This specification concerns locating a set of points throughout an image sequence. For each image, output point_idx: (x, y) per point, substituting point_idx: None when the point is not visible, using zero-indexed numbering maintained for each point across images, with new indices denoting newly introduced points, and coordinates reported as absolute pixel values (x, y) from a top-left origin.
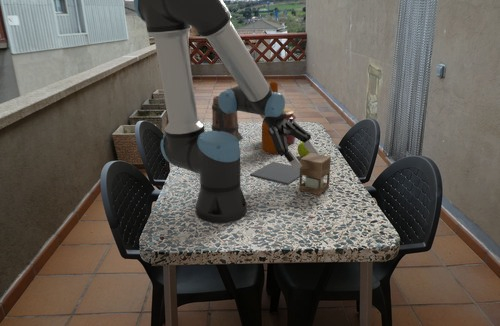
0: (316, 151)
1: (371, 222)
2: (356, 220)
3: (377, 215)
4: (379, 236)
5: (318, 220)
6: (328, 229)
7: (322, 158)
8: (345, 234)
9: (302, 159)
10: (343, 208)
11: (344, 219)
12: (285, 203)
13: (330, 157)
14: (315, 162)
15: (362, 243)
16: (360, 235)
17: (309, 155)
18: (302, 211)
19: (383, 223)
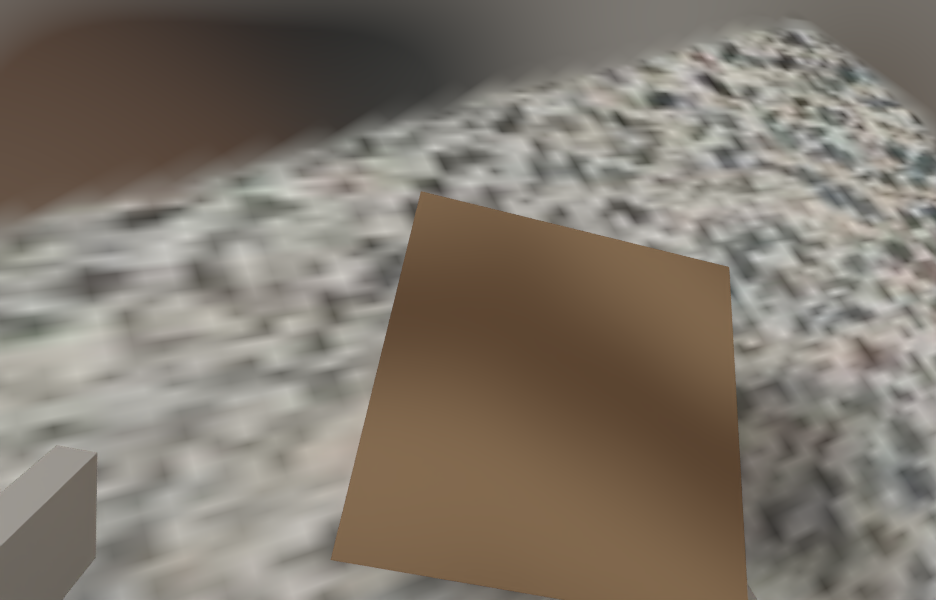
0: (39, 514)
1: (730, 93)
2: (752, 148)
3: (651, 70)
4: (816, 71)
5: (871, 310)
6: (908, 250)
7: (548, 284)
8: (892, 181)
9: (746, 579)
10: (670, 212)
11: (778, 196)
12: (827, 586)
13: (432, 199)
14: (727, 347)
15: (902, 122)
16: (857, 129)
17: (502, 525)
18: (845, 424)
19: (708, 53)
